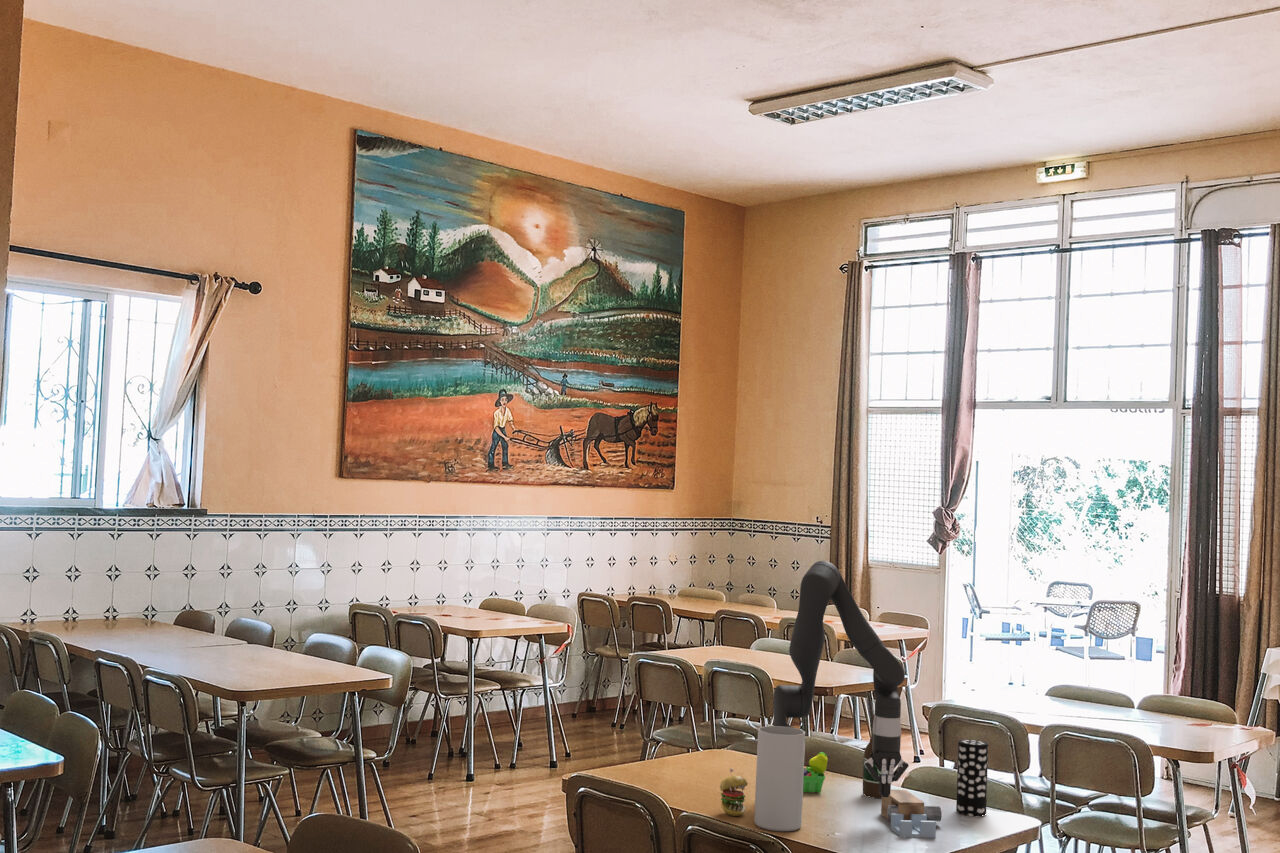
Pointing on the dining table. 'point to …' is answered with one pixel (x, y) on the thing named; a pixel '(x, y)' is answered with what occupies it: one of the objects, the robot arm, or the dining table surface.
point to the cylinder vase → (779, 778)
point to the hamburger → (733, 795)
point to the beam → (902, 804)
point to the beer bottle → (868, 782)
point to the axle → (930, 811)
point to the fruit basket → (815, 773)
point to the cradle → (913, 826)
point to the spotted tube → (972, 777)
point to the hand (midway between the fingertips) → (884, 796)
